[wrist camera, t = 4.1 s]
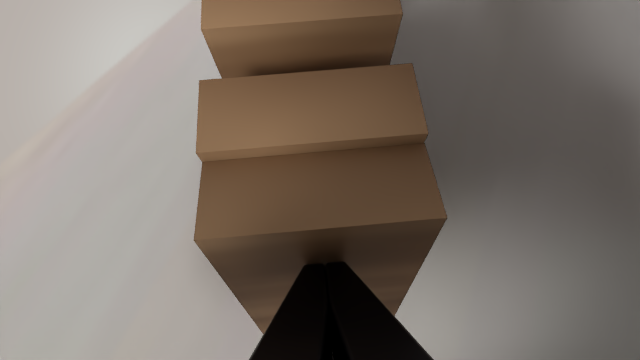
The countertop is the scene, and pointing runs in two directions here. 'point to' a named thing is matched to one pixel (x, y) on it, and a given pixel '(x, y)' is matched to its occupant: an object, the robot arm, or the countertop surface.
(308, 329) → the robot arm
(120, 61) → the countertop surface
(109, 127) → the countertop surface
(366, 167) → the domino
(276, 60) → the domino
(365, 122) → the domino
